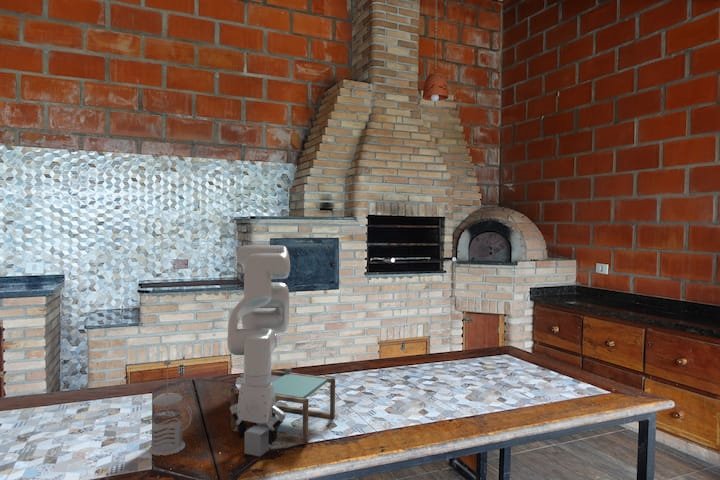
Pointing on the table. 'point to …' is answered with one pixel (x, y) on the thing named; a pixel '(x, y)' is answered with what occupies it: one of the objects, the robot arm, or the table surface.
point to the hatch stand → (293, 409)
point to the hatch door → (296, 385)
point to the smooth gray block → (256, 440)
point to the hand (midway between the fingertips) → (257, 439)
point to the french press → (174, 439)
